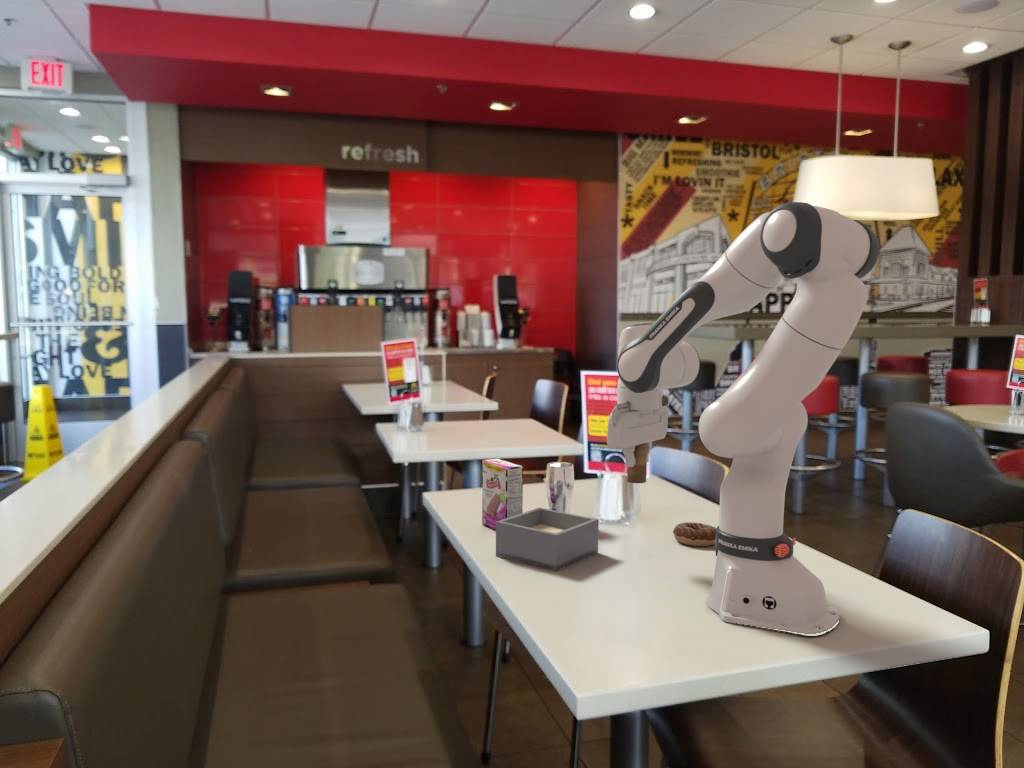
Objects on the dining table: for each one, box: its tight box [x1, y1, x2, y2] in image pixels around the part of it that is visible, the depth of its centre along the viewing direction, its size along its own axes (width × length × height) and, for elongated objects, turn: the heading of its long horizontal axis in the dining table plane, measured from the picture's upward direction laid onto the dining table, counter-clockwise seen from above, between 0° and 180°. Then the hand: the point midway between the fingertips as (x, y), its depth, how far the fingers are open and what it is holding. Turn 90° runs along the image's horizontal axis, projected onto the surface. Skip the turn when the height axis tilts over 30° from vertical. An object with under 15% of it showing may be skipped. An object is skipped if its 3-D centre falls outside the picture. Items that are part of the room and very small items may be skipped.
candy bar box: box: [481, 458, 524, 531], centre depth 193 cm, size 11×5×16 cm, turn 34°
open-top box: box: [495, 507, 600, 572], centre depth 174 cm, size 16×16×8 cm
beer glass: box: [545, 461, 575, 514], centre depth 198 cm, size 7×7×15 cm
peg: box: [626, 444, 647, 484], centre depth 170 cm, size 4×4×8 cm
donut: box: [672, 521, 717, 547], centre depth 185 cm, size 11×11×4 cm
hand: (637, 464), depth 170 cm, fingers closed on peg, 4 cm apart
